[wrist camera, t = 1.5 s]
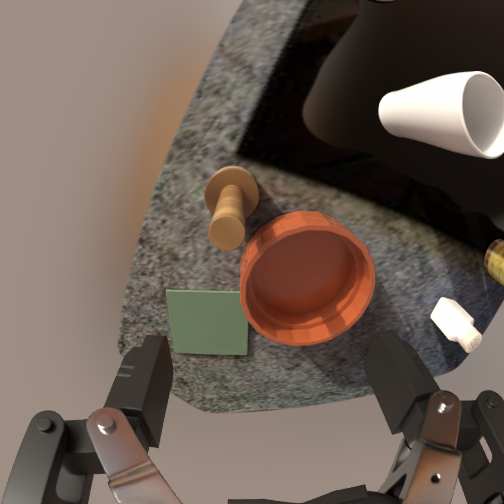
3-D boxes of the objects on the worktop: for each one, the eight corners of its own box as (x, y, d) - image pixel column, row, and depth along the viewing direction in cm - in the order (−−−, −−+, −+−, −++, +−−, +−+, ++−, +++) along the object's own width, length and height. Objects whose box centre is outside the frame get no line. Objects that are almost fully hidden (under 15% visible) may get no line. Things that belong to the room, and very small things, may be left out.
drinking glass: (428, 128, 28) (521, 139, 14) (388, 153, 29) (479, 175, 15) (402, 77, 26) (493, 60, 12) (359, 100, 27) (444, 86, 13)
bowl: (241, 207, 31) (241, 222, 26) (365, 212, 32) (386, 227, 27) (239, 318, 37) (239, 347, 32) (346, 316, 37) (359, 342, 32)
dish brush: (207, 165, 29) (182, 190, 16) (258, 166, 30) (272, 191, 17) (208, 213, 31) (186, 272, 18) (256, 214, 32) (268, 273, 19)
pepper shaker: (455, 299, 38) (488, 333, 29) (443, 320, 39) (473, 356, 30) (440, 294, 37) (475, 330, 28) (427, 316, 38) (459, 355, 30)
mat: (166, 289, 35) (165, 291, 34) (248, 291, 35) (249, 292, 35) (175, 351, 38) (175, 352, 38) (247, 353, 39) (247, 355, 39)
